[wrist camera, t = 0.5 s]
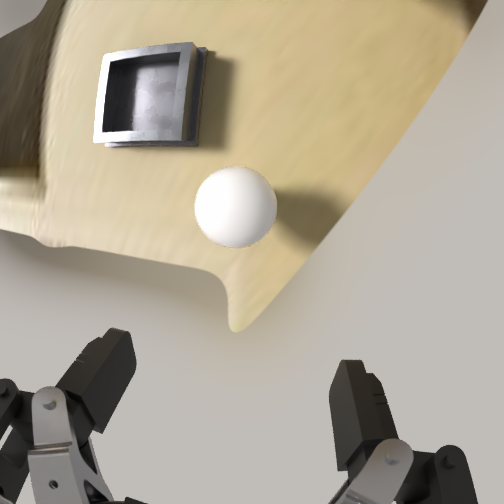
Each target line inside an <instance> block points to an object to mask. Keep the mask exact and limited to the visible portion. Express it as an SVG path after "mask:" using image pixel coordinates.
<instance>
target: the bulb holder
mask: <svg viewBox="0 0 504 504" xmlns="http://www.w3.org/2000/svg"><path fill="white" fill-rule="evenodd" d="M207 52H208V50H207V48H206V47H199V48H197V47H196V46H195V45H194V43H193V42H186V43H174V44H164V45H156V46H148V47H142V48H136V49H130V50H124V51H119V52H115V53H110V54H105V55H104V57H103V63H102V68H101V75H100V81H99V88H98V96H97V105H96V116H95V129H94V143H105V147H111V146H140V145H177V146H197V145H198V133H199V122H200V111H201V101H202V92H203V83H204V75H205V67H206V60H207Z"/></svg>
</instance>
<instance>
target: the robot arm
mask: <svg viewBox="0 0 504 504" xmlns="http://www.w3.org/2000/svg"><path fill="white" fill-rule="evenodd" d="M135 370H136V357H135V352H134V348H133V343H132V339H131V335H130V333H129V332H128V331H124V330H120V329H116V328H110V329H109V330H108V331H107V332H106V333H105V335H104V336H103V337H102V338H100V337H98V338H96V339H95V340H93V341H91V342H90V343H88V344H87V346H86V347H85V348H84V349H83V351H82V353H81V354H80V355H79V356H78V357H77V358H76V361H74V363H72V365H71V366H70V367H69V369H68V370H67V371H66V373H65V374H64V375H63V377H62V378H61V379H60V381H59V382H58V383H57V385H56V386H55V387H53V386H47V387H44V388H41V389H40V390H39V391H37V392H36V393H31V392H25V391H20V390H19V389H18V388H17V386H16V384H15V383H14V382H13V381H12V380H10V379H0V440H1V438H2V436H3V435H4V433H5V431H6V430H7V428H8V426H9V425H11V426H12V428H13V429H12V431H11V432H10V434H9V436H8V438H7V440H6V441H5V443H4V445H3V447H2V448H1V450H0V504H16V501H17V498H18V496H19V494H20V492H21V489H22V487H23V484H24V482H25V480H26V478H27V476H28V473H29V471H30V476H31V482H32V487H33V492H34V497H35V501H36V504H147V503H143V502H140V501H138V500H134V499H132V498H129V497H126V498H125V501H114V499H113V497H112V494H111V492H110V490H109V489H108V486H107V485H106V483H105V482H104V480H103V478H102V475H101V472H100V469H99V466H98V462H97V459H96V456H95V452H94V449H93V445H92V441H91V438H90V434H91V432H92V430H94V431H96V432H99V433H101V434H103V432H104V430H105V428H106V426H107V424H108V422H109V420H110V418H111V416H112V414H113V412H114V410H115V408H116V407H117V405H118V403H119V401H120V399H121V397H122V395H123V394H124V392H125V390H126V387H127V386H128V384H129V382H130V380H131V378H132V377H133V375H134V373H135ZM329 403H330V411H331V418H332V426H333V433H334V442H335V450H336V458H337V469H338V471H348V479H347V480H346V481H345V482H344V484H343V485H342V486H341V488H340V489H339V490H338V492H337V493H336V494H335V496H334V497H333V498H332V499H331V500H330V502H329V503H328V504H391V503H392V502H393V501H396V503H397V504H478V502H477V497H476V493H475V489H474V485H473V481H472V477H471V473H470V470H469V466H468V463H467V460H466V456H465V454H464V452H463V451H462V450H461V449H460V448H458V447H457V446H454V445H446V446H443V447H441V448H440V449H439V450H438V451H437V452H436V453H429V452H419V451H414V450H412V449H411V447H410V446H409V445H408V444H407V443H406V442H404V441H402V440H400V439H399V438H398V435H397V431H396V428H395V425H394V421H393V418H392V415H391V411H390V408H389V405H387V403H388V402H387V399H386V396H385V393H384V390H383V387H382V384H381V382H380V381H379V380H378V379H377V377H376V376H375V375H374V374H373V373H366V370H365V367H364V364H363V362H362V360H341V362H340V364H339V367H338V369H337V371H336V374H335V377H334V379H333V382H332V384H331V387H330V392H329Z"/></svg>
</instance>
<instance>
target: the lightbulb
mask: <svg viewBox="0 0 504 504" xmlns="http://www.w3.org/2000/svg"><path fill="white" fill-rule="evenodd" d="M194 209H195V217H196V220H197V223H198V225H199V227H200V229H201V231H202V232H203V233H204V234H205V236H206V237H207V238H209V239H210V240H211V241H213V242H214V243H216V244H218V245H220V246H223V247H227V248H245V247H249V246H251V245H254V244H256V243H257V242H259V241H260V240H262V239H263V238H264V237H265V236H266V235H267V234H268V233H269V231H270V230H271V228H272V226H273V224H274V222H275V219H276V215H277V199H276V195H275V192H274V190H273V188H272V186H271V185H270V183H269V182H268V181H267V179H266V178H265V177H264V176H262V175H261V174H260V173H258V172H257V171H255V170H253V169H250V168H247V167H242V166H230V167H225V168H222V169H219V170H217V171H215V172H214V173H212V174H211V175H210V176H208V177H207V178H206V179H205V181H204V182H203V183H202V184H201V186H200V188H199V190H198V192H197V195H196V198H195V206H194Z"/></svg>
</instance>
